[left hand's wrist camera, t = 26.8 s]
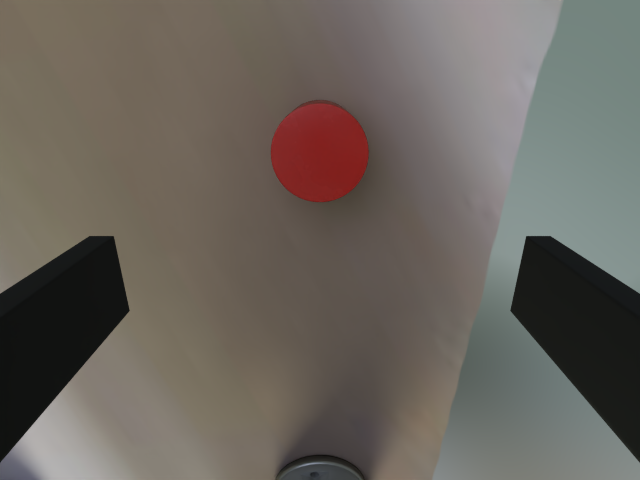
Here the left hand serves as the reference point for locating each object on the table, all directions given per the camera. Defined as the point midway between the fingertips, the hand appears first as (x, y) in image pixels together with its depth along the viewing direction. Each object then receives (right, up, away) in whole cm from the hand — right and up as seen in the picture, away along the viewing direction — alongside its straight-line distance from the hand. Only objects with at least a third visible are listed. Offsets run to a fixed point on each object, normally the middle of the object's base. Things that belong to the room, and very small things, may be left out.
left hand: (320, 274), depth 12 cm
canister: (0, +12, +31) cm, 33 cm away
